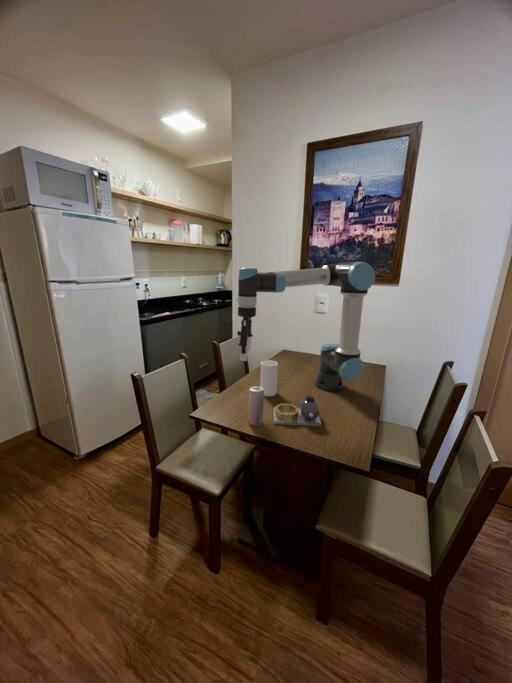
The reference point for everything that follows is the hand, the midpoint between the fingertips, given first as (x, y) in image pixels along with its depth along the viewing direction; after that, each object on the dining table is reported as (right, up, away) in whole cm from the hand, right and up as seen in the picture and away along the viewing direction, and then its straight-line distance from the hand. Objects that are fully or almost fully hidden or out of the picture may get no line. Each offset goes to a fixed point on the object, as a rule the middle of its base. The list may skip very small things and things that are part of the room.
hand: (245, 355), depth 119 cm
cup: (+11, -20, +20) cm, 31 cm away
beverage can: (+4, -27, -6) cm, 28 cm away
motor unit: (+22, -26, -2) cm, 34 cm away
